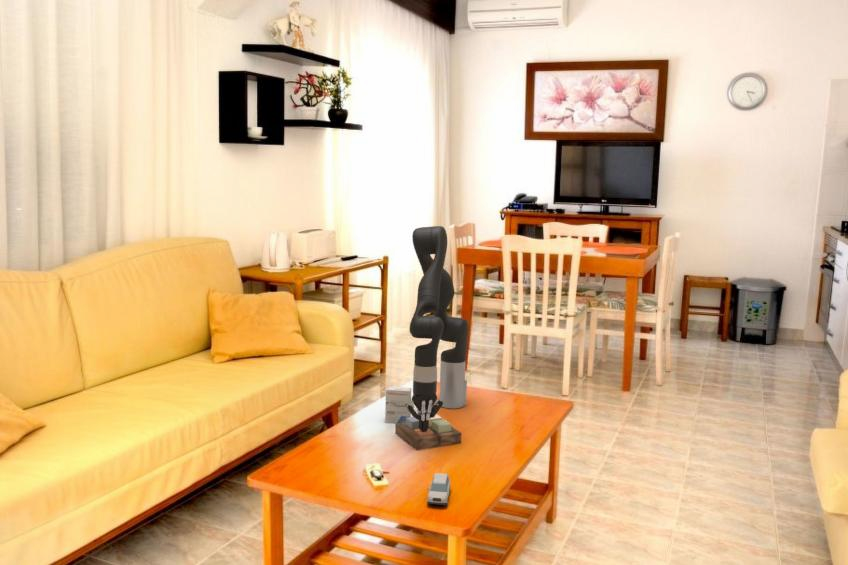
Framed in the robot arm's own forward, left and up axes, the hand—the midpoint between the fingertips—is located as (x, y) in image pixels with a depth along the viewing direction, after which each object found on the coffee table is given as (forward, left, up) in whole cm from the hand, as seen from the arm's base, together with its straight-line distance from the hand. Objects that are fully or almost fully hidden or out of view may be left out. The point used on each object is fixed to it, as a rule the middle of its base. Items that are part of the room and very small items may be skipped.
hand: (423, 430), depth 241 cm
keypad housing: (-3, -3, -4) cm, 6 cm away
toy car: (+14, +38, -5) cm, 41 cm away
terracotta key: (0, 0, -2) cm, 2 cm away
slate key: (0, -6, -1) cm, 6 cm away
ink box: (-1, -22, -4) cm, 23 cm away
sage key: (-7, 0, -1) cm, 7 cm away
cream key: (-7, -6, -1) cm, 9 cm away
